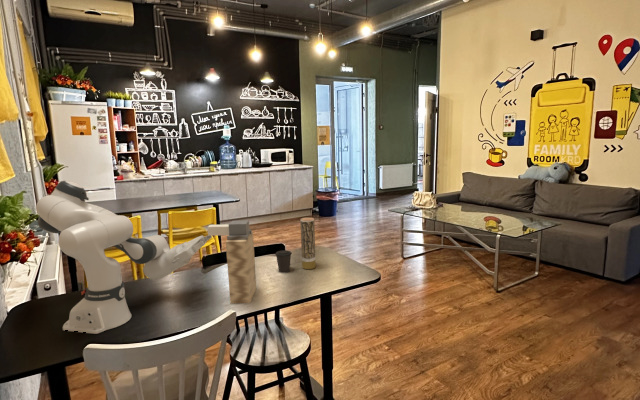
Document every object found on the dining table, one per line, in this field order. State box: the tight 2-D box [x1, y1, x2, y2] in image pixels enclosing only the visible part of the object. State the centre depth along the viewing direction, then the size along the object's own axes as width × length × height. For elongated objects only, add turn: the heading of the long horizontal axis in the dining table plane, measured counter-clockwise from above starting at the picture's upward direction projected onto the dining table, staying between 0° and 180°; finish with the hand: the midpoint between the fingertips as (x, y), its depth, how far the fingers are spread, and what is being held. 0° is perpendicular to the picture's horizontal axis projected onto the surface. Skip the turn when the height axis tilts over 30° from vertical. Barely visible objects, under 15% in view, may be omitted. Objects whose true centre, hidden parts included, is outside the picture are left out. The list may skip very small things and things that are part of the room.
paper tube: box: [300, 217, 317, 270], centre depth 191 cm, size 7×7×25 cm
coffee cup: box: [275, 249, 292, 274], centre depth 188 cm, size 8×8×10 cm
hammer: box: [206, 220, 251, 237], centre depth 157 cm, size 16×6×6 cm, turn 89°
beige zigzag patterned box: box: [225, 229, 257, 304], centre depth 160 cm, size 8×14×28 cm, turn 179°
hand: (207, 239), depth 158 cm, fingers open, 8 cm apart
